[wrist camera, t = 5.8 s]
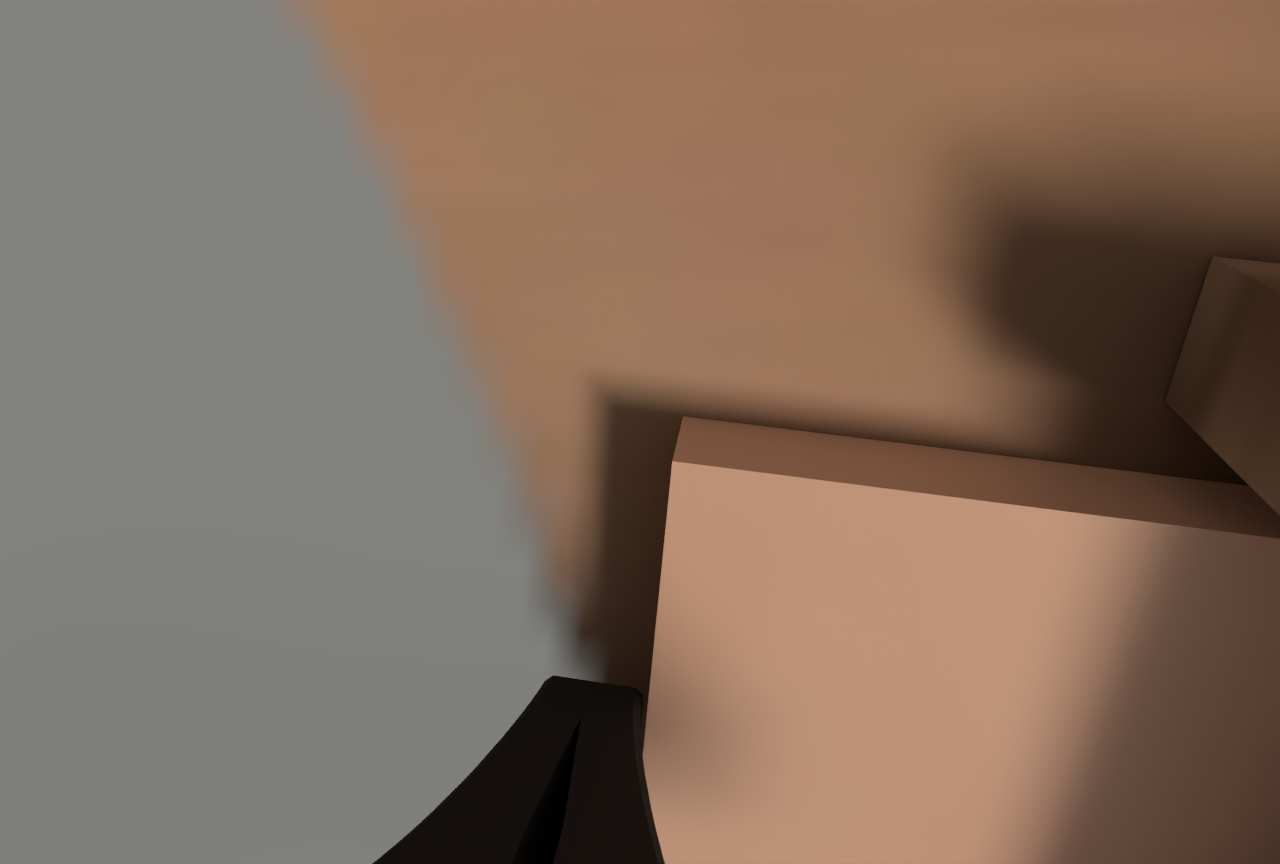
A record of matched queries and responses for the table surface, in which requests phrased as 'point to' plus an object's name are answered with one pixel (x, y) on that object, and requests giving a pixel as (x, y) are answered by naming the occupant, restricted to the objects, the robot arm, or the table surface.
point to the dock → (1235, 371)
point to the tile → (958, 659)
